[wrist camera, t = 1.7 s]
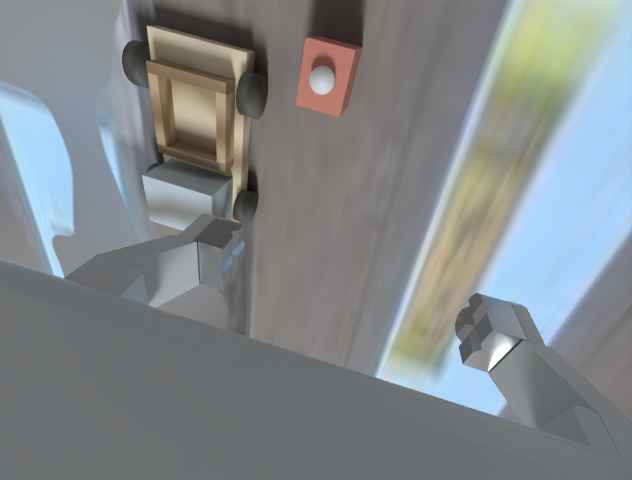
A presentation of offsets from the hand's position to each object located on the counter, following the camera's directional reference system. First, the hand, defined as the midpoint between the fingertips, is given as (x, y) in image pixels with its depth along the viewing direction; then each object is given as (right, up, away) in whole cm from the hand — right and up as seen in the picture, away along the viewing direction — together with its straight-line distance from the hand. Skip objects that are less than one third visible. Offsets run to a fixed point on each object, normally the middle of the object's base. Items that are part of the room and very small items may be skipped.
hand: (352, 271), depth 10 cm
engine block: (+1, +17, +18) cm, 25 cm away
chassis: (-14, +13, +24) cm, 31 cm away
